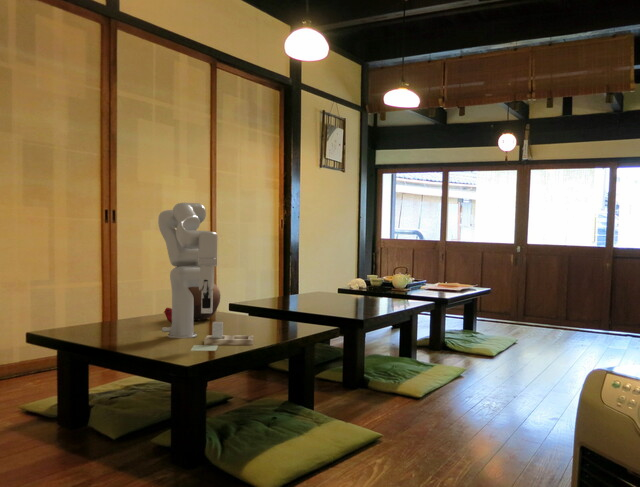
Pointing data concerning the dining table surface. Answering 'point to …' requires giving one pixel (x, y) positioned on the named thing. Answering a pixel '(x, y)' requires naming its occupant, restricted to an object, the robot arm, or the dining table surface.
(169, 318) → the decorative bird figurine
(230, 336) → the pallet
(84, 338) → the dining table surface
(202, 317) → the pottery
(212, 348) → the rubber mat
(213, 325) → the block
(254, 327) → the dining table surface
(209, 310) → the billet
